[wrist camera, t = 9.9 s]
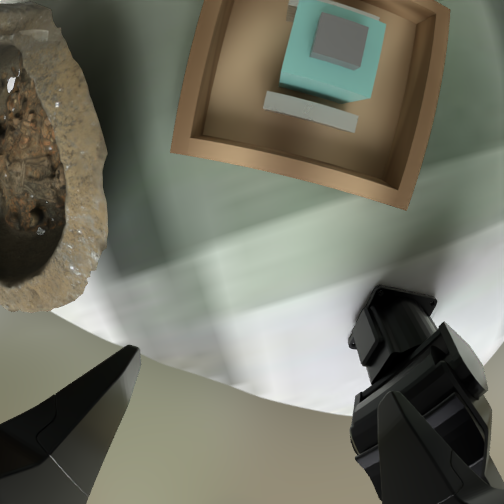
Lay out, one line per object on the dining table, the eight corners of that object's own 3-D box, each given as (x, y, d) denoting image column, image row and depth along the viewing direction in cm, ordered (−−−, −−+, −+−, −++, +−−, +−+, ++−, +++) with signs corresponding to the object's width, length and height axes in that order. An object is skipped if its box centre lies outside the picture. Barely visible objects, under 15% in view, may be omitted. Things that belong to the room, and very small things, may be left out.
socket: (365, 30, 14) (379, 17, 11) (342, 130, 17) (354, 133, 14) (289, 8, 14) (291, -9, 11) (264, 110, 17) (262, 108, 14)
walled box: (426, 21, 13) (450, 9, 10) (387, 195, 19) (406, 211, 16) (231, -34, 13) (224, -58, 9) (187, 146, 19) (170, 152, 15)
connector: (354, 49, 15) (394, 18, 8) (341, 104, 16) (378, 96, 10) (292, 31, 14) (302, -13, 8) (278, 86, 16) (281, 67, 10)
